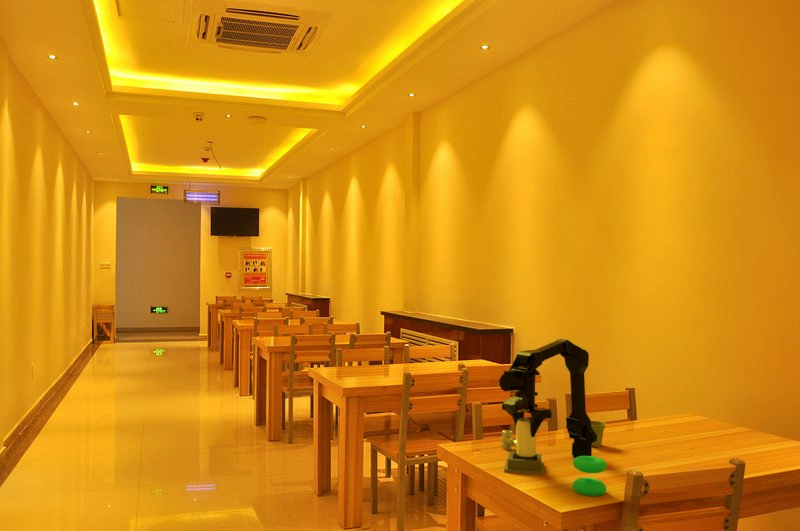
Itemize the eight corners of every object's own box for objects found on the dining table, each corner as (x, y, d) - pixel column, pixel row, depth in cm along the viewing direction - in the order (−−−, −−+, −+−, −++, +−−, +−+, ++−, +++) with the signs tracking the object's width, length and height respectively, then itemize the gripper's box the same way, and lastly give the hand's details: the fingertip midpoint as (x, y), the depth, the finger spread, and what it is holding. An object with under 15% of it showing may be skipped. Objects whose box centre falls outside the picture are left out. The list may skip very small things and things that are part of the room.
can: (514, 453, 237) (513, 418, 237) (532, 452, 238) (532, 417, 238) (519, 457, 231) (519, 421, 231) (538, 457, 231) (537, 421, 232)
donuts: (614, 461, 208) (588, 464, 204) (613, 495, 208) (587, 498, 204) (591, 453, 217) (566, 456, 213) (591, 485, 217) (565, 488, 213)
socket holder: (544, 465, 239) (544, 453, 239) (544, 475, 227) (544, 463, 227) (506, 461, 242) (506, 450, 242) (504, 472, 229) (504, 459, 229)
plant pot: (594, 449, 264) (594, 426, 264) (575, 443, 272) (576, 421, 272) (610, 446, 269) (611, 424, 269) (591, 441, 277) (592, 419, 277)
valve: (496, 448, 262) (516, 455, 251) (496, 430, 262) (517, 437, 251) (510, 446, 265) (530, 454, 254) (510, 429, 265) (531, 436, 254)
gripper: (490, 386, 238) (489, 431, 238) (528, 395, 222) (527, 443, 222) (514, 384, 244) (513, 428, 244) (553, 392, 228) (552, 439, 228)
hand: (525, 434), depth 235 cm, fingers closed on can, 6 cm apart
